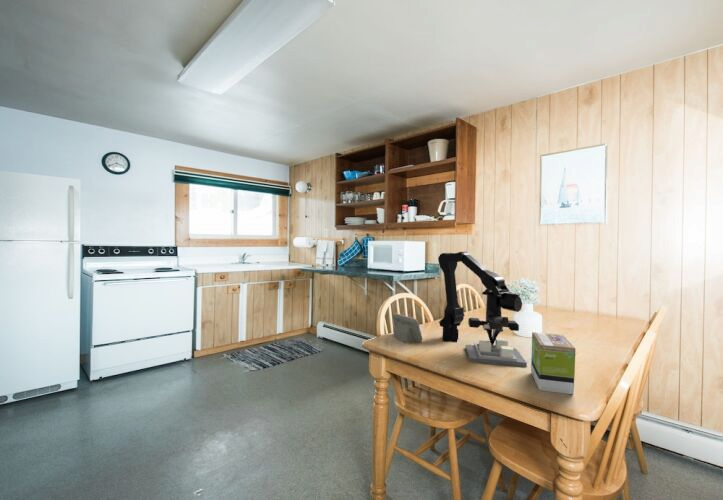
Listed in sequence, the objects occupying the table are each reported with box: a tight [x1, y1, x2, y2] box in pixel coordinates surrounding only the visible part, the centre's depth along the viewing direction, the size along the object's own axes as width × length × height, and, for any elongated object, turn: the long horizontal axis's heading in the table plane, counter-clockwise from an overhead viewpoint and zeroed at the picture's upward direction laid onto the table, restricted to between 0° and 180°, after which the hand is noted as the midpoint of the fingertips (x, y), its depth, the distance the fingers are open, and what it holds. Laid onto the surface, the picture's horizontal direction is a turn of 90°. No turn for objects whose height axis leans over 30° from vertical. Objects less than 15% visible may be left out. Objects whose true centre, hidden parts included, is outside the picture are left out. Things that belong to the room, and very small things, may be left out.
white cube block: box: [478, 340, 491, 352], centre depth 138 cm, size 4×4×4 cm
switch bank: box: [465, 342, 528, 368], centre depth 137 cm, size 20×16×2 cm
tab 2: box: [494, 337, 509, 349], centre depth 142 cm, size 4×4×4 cm
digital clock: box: [392, 312, 423, 344], centre depth 159 cm, size 16×9×11 cm, turn 24°
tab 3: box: [500, 345, 514, 358], centre depth 132 cm, size 4×4×4 cm
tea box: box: [530, 331, 576, 395], centre depth 114 cm, size 15×10×15 cm
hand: (491, 344), depth 142 cm, fingers closed
